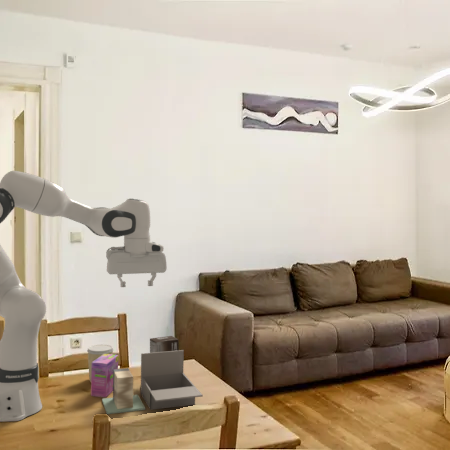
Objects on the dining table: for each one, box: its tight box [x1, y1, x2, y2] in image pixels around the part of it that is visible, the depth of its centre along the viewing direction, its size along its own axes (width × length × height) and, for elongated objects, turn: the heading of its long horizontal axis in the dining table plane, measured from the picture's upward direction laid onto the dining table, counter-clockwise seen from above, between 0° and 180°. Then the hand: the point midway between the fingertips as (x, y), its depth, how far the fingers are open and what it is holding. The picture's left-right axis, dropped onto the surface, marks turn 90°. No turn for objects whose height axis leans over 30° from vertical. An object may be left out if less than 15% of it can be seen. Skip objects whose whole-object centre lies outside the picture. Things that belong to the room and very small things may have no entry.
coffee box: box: [149, 335, 180, 353], centre depth 200 cm, size 9×6×16 cm
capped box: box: [112, 367, 134, 409], centre depth 177 cm, size 5×9×10 cm, turn 20°
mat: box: [101, 394, 146, 415], centre depth 177 cm, size 12×12×1 cm
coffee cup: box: [87, 344, 114, 383], centre depth 201 cm, size 9×9×12 cm
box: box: [90, 353, 119, 398], centre depth 189 cm, size 10×6×12 cm, turn 168°
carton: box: [140, 349, 203, 411], centre depth 179 cm, size 15×23×14 cm, turn 20°
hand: (136, 286), depth 187 cm, fingers open, 8 cm apart
